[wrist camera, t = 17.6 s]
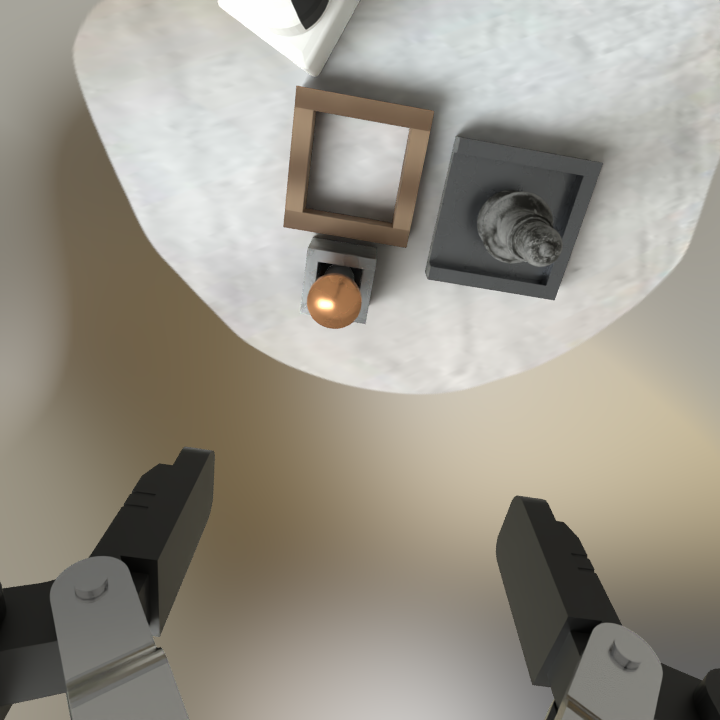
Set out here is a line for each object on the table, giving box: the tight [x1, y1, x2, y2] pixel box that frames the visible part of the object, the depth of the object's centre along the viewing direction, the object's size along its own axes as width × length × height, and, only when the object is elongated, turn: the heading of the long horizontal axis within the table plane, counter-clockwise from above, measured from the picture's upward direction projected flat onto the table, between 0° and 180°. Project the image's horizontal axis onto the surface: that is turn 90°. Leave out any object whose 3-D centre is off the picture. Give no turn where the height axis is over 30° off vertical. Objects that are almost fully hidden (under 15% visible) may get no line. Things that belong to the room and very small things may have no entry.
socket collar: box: [283, 86, 434, 248], centre depth 42 cm, size 11×11×2 cm
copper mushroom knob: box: [307, 264, 362, 329], centre depth 43 cm, size 4×4×7 cm
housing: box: [300, 237, 377, 324], centre depth 45 cm, size 6×6×4 cm
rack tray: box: [425, 136, 603, 300], centre depth 44 cm, size 12×12×2 cm
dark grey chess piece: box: [477, 190, 563, 267], centre depth 39 cm, size 6×6×12 cm
